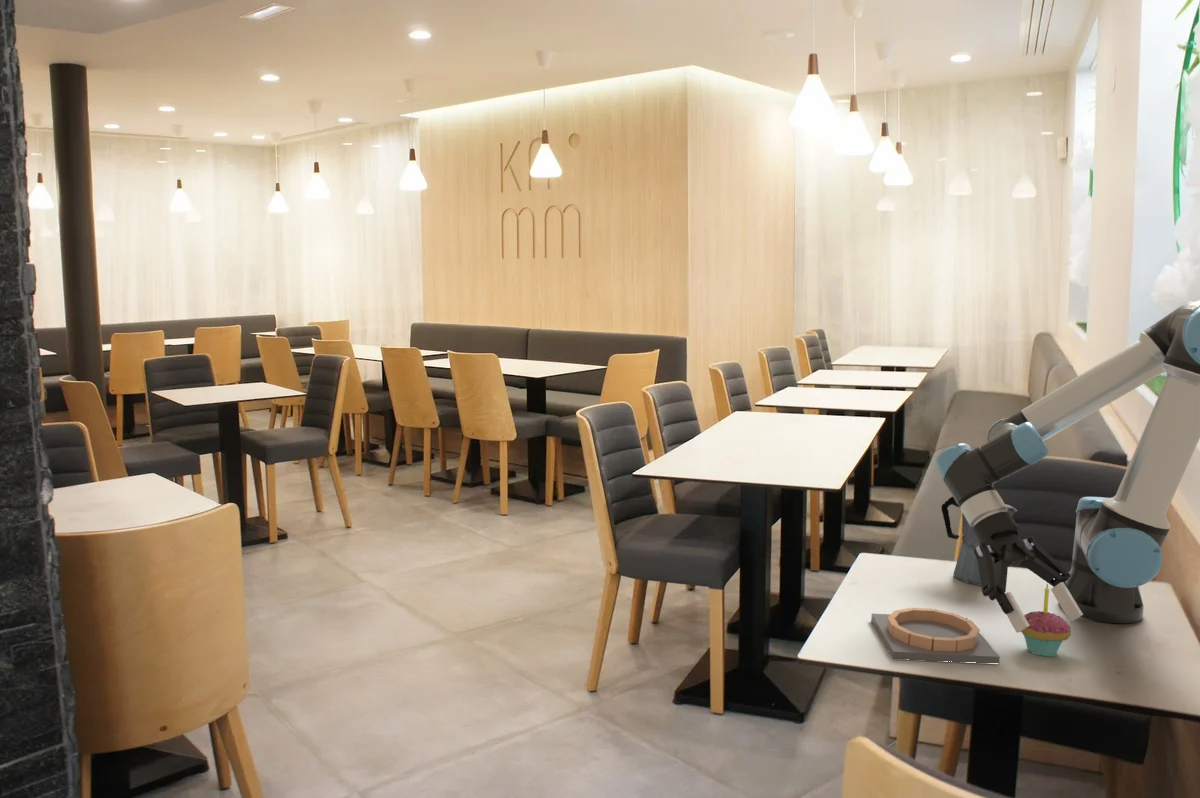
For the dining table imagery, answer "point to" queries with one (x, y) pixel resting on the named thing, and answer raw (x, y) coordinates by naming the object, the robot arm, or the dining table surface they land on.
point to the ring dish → (932, 636)
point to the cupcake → (1045, 630)
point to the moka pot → (966, 546)
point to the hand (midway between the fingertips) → (1050, 623)
